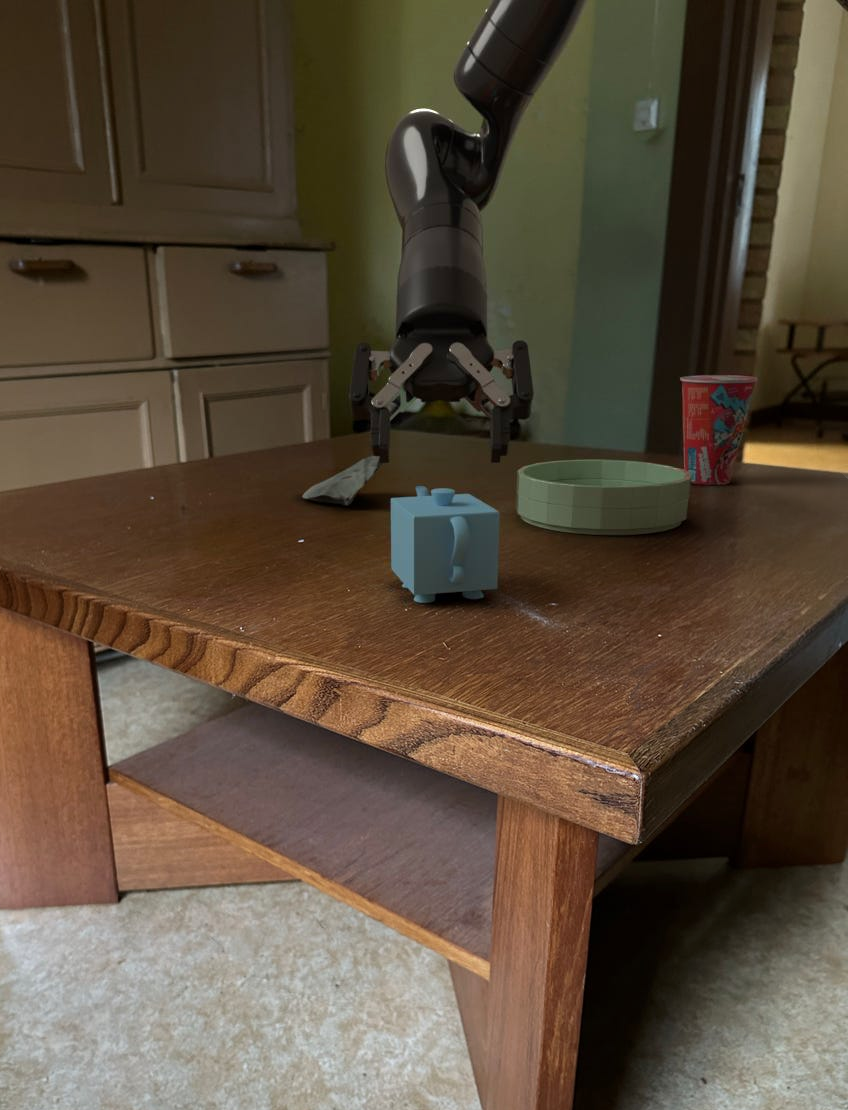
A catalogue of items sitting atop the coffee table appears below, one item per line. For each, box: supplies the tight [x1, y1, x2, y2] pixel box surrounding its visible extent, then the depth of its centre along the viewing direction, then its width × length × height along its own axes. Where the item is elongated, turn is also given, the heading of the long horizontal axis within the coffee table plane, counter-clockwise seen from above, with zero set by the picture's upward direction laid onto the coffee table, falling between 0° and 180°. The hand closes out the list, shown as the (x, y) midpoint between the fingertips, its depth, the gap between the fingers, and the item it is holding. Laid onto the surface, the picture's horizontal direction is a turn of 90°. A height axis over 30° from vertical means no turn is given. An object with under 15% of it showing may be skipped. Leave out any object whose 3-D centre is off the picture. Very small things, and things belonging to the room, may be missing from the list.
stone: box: [302, 455, 383, 507], centre depth 100 cm, size 11×4×10 cm
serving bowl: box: [515, 459, 692, 536], centre depth 90 cm, size 16×16×4 cm
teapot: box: [390, 485, 501, 604], centre depth 67 cm, size 12×6×8 cm, turn 11°
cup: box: [679, 374, 759, 486], centre depth 107 cm, size 9×8×12 cm
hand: (440, 456), depth 69 cm, fingers open, 8 cm apart
